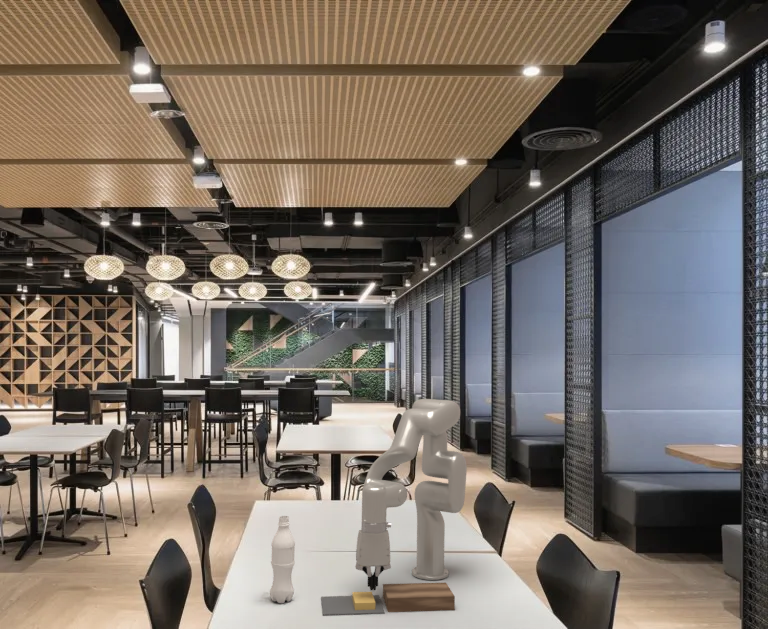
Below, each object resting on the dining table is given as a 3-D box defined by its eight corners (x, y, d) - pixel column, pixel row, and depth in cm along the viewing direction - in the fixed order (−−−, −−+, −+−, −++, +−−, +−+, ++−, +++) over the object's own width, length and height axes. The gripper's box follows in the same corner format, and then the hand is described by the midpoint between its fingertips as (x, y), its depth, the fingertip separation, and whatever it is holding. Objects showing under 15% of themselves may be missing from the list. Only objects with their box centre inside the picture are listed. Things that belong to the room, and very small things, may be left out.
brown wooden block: (382, 597, 205) (382, 584, 206) (445, 595, 208) (445, 582, 208) (387, 612, 193) (387, 598, 194) (454, 610, 196) (454, 596, 196)
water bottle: (294, 596, 205) (296, 514, 207) (292, 604, 198) (294, 519, 200) (271, 595, 205) (273, 514, 206) (268, 604, 198) (270, 519, 199)
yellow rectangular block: (371, 591, 203) (371, 598, 203) (352, 592, 203) (352, 598, 202) (375, 602, 194) (375, 609, 194) (355, 603, 194) (354, 610, 194)
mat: (321, 597, 204) (321, 596, 204) (379, 596, 206) (379, 594, 206) (322, 615, 190) (322, 614, 190) (384, 613, 192) (384, 612, 192)
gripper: (396, 523, 205) (395, 584, 204) (348, 524, 203) (347, 585, 202) (400, 529, 198) (399, 592, 196) (350, 530, 196) (348, 594, 194)
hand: (372, 588), depth 199 cm, fingers closed
